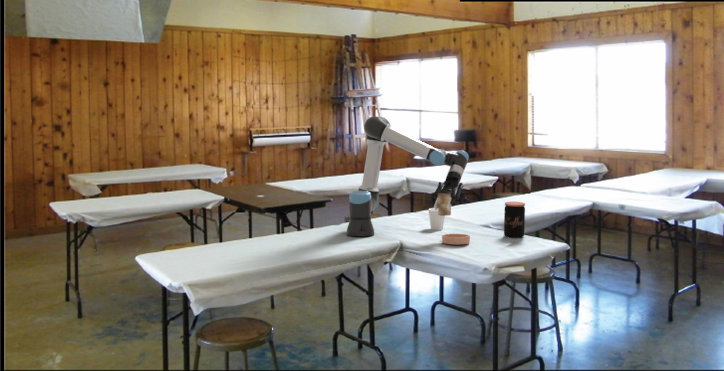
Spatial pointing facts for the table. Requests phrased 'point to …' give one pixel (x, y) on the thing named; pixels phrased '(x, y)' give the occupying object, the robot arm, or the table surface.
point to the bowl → (455, 239)
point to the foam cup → (436, 219)
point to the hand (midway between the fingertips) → (441, 208)
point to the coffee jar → (514, 219)
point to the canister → (443, 204)
